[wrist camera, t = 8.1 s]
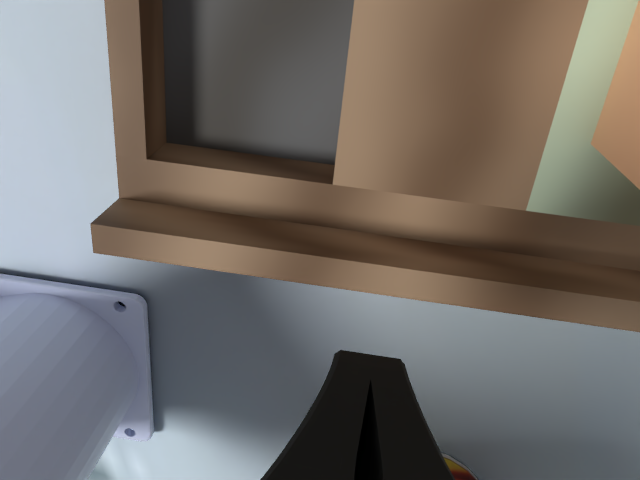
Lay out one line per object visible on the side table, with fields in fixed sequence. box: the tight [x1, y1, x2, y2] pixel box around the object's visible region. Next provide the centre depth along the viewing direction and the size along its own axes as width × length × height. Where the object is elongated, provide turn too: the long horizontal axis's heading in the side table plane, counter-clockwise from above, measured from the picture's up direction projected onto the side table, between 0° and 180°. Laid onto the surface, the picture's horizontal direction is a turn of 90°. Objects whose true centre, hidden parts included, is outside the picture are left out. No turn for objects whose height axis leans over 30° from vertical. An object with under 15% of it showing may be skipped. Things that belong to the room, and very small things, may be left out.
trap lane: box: [91, 0, 640, 332], centre depth 15 cm, size 25×14×4 cm, turn 85°
